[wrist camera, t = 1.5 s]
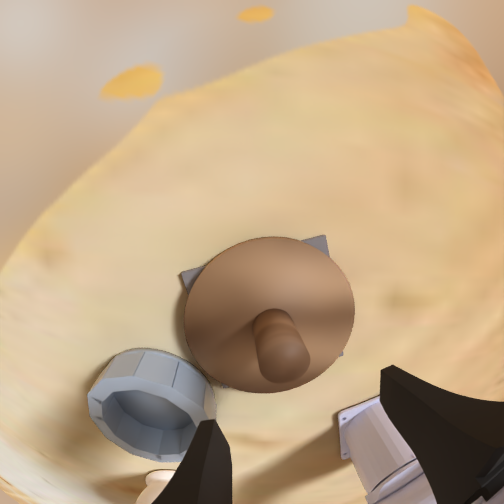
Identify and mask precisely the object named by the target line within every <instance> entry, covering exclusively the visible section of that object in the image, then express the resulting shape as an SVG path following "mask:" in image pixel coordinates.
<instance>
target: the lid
mask: <svg viewBox="0 0 504 504" xmlns="http://www.w3.org/2000/svg"><path fill="white" fill-rule="evenodd" d="M354 315H355V306H354V298H353V293H352V290H351V287H350V284H349V282H348V280H347V278H346V276H345V274H344V273H343V272H342V270H341V269H340V267H339V266H338V265H337V264H336V263H335V262H334V261H333V260H332V259H331V258H330V257H328V256H327V255H326V254H324V253H323V252H322V251H320V250H318V249H317V248H315V247H313V246H311V245H309V244H307V243H304V242H302V241H299V240H295V239H291V238H286V237H261V238H256V239H251V240H247V241H244V242H241V243H239V244H236V245H234V246H232V247H230V248H228V249H227V250H225V251H224V252H222V253H220V254H219V255H218V256H216V257H215V258H214V259H213V260H212V261H211V262H209V263H208V265H207V266H206V267H205V268H204V269H203V270H202V272H201V273H200V275H199V276H198V278H197V279H196V281H195V283H194V285H193V287H192V289H191V291H190V294H189V296H188V300H187V303H186V306H185V313H184V330H185V336H186V340H187V343H188V346H189V348H190V350H191V352H192V354H193V356H194V358H195V359H196V361H197V362H198V364H199V365H200V366H201V367H202V368H203V369H204V370H205V371H206V372H207V373H208V374H209V375H211V376H212V377H213V378H215V379H216V380H218V381H219V382H221V383H223V384H225V385H227V386H229V387H232V388H234V389H237V390H241V391H245V392H251V393H276V392H282V391H286V390H290V389H293V388H296V387H299V386H301V385H303V384H306V383H308V382H310V381H311V380H313V379H315V378H316V377H318V376H319V375H320V374H322V373H323V372H324V371H325V370H327V369H328V368H329V367H330V366H331V365H332V364H333V363H334V362H335V360H336V359H337V358H338V357H339V355H340V354H341V352H342V351H343V349H344V348H345V346H346V344H347V342H348V340H349V337H350V334H351V332H352V328H353V323H354Z"/></svg>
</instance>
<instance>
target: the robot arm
mask: <svg viewBox="0 0 504 504" xmlns="http://www.w3.org/2000/svg"><path fill="white" fill-rule="evenodd" d="M338 424H339V436H340V451H341V458H342V459H343V460H345V459H348V458H351V460H352V462H353V465H354V467H355V469H356V471H357V473H358V476H359V478H360V480H361V482H362V484H363V487H364V489H365V490H366V492H367V493H368V495H366V496H365V498H366V500H367V502H368V504H504V402H497V401H487V400H480V399H474V398H470V397H466V396H462V395H458V394H455V393H452V392H449V391H447V390H444V389H441V388H439V387H436V386H434V385H432V384H430V383H428V382H425V381H423V380H421V379H419V378H417V377H415V376H413V375H411V374H409V373H408V372H406V371H404V370H402V369H400V368H398V367H396V366H394V365H391V366H389V367H387V368H384V369H382V370H381V380H380V396H378V397H376V398H373V399H371V400H368V401H366V402H363V403H361V404H358V405H356V406H353V407H351V408H348V409H345V410H343V411H341V412H339V414H338ZM151 504H232V461H231V454H230V447H229V444H228V442H227V440H226V439H225V437H224V435H223V433H222V431H221V429H220V428H219V426H218V424H217V422H216V420H215V419H210V420H203V421H200V423H199V425H198V427H197V430H196V432H195V434H194V437H193V439H192V441H191V443H190V446H189V448H188V450H187V452H186V454H185V455H184V457H183V459H182V461H181V463H180V465H179V466H178V468H177V470H176V471H175V473H174V475H173V476H172V478H171V479H170V481H169V482H168V484H167V485H166V486H165V488H164V489H163V490H162V492H161V493H160V494H159V495H158V497H157V498H156V499H155V500H154V501H153V502H152V503H151Z"/></svg>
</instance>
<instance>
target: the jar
mask: <svg viewBox="0 0 504 504" xmlns="http://www.w3.org/2000/svg"><path fill="white" fill-rule="evenodd" d="M174 473H175V471H173V470H159V471H154V472H151V473H149V474H148V475H147V476H146V479H145V481H146V484H147V486H148V487H146V488H145V489H144V490H143V491H142V493H141V494H140V495H139V497H138V499H137V501H136V503H135V504H151V503H152V502H153V501H154V500H155V499H156V498H157V497H158V495H159V494H160V493H161V492H162V490H163V489H164V488H165V486H166V485H167V484H168V482H169V481H170V479H171V478H172V476H173V475H174Z"/></svg>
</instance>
